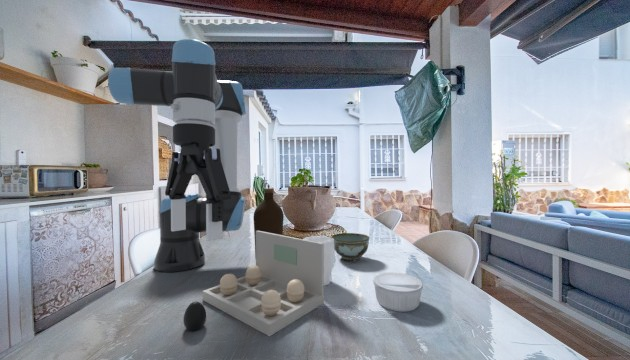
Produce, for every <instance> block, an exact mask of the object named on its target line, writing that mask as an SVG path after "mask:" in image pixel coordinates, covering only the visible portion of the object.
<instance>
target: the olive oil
mask: <svg viewBox="0 0 630 360" xmlns="http://www.w3.org/2000/svg"><path fill="white" fill-rule="evenodd" d="M252 217H253V231H254V232H253V233H254V255H255V256H254V257H255V258H254V259H255V260H256V231H263V232H268V233H273V234H278V235H283V236H284V211H283V209H282V207H281V206H280V205H279V204H278V203H277V202H276V201H275V200H274V189H273V188H264V189H263V200H262V201H261V202H260V203H259V204H258V205H257V207H256V208H255V209H254V212H253V216H252Z"/></svg>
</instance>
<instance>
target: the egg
mask: <svg viewBox="0 0 630 360" xmlns="http://www.w3.org/2000/svg"><path fill="white" fill-rule="evenodd" d="M206 321H207V311H206V308H205V306H204V305H203V304H202V303H201V302H199V301H193V302H191V303H189V305H188V306H187V308H186V309H185V311H184V313H183V325H184V328H185V329H186V330H187V331H190V332H196V331H198V330H200V329H202V328H203V327H204V325H205V324H206Z"/></svg>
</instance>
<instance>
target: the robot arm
mask: <svg viewBox="0 0 630 360" xmlns="http://www.w3.org/2000/svg"><path fill="white" fill-rule="evenodd" d="M171 56H172V57H171V59H170V60H171V62H172V63H171V65H172V67H171V68H172V70H155V69H143V68H142V69H141V68H131V67H128V66H127V67H114V68H112V69H111V70H110V71H109V73H108V77H107V84H108V90H109V93H110V95H111V97H112V98H113V99H114V101H116V102H117V103H118V104H122V105H123V104H124V105H126V104H127V105H131V106H135V105H136V106H137V105H138V106H164V107H170V108H171V109H172V121H173V122H174V123H175V124H173V126H172V142H173V143H172V144H174V145H175V146H179V147H180V151H172V153H171V164H170V169H169V173H168V177H167V182H166V186H165V191H164V193H165V196H166V197H164V198H163V199H162V200H161V201H160V209H159V233H160V234H159V235H160V236H159V237H160V239H159V242H160V243H159V246H158V249H157V253H156V255H155V257H154V260H153V261H154V262H153V268H154V270H156V271H157V272H164V273H166V272H167V273H170V272H171V273H174V272H175V273H176V272H183V271H188V270H192V269H195V268H198V267H200V266H202V265H204V263H205V262H206V258H205V257H206V256H205V255H206V254H205V252H204V249H203V247H202V243H201V241H200V233H205V235H206V236H205V239H206V240H205V241H206V242H212V241H217V240H221V239H223V232H224V233H225V232H226V233H228V232H233V231H234V232H235V231H239V230H240V229H241V227H242V225H243V222H244V214H245V210H246V209H245V208H246V207H245V206H246V197H244V196H242V191H241V190H240V189H239V188H238V123H239V122H241V121H242V119H243V117H242V116H244V115H246V114H247V112H246V105H245V104H246V103H245V96H244V90H243V85H242V83H240V82H238V81H234V80H233V81H232V80H220V79H219V80H218V78H217V75H216V64H217V63H216V59H215V58H216V57H215V51H214V49H213V47H212V46H210V45H209V44H207V43H205V42H203V41H201V40H198V39H187V38H183V39H180V40H177V41H175V43H174V44H173V45H172V55H171ZM194 175H195V176H197V178H198V180H199V183H200V184H201V186H202V189H203V191H204V193H205V197H200V194H199V193H197V192H195V193H187V194H186V192H187V189H188V187H189V185H190V182H191V180H192V177H193V176H194ZM167 196H168V197H167Z"/></svg>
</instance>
